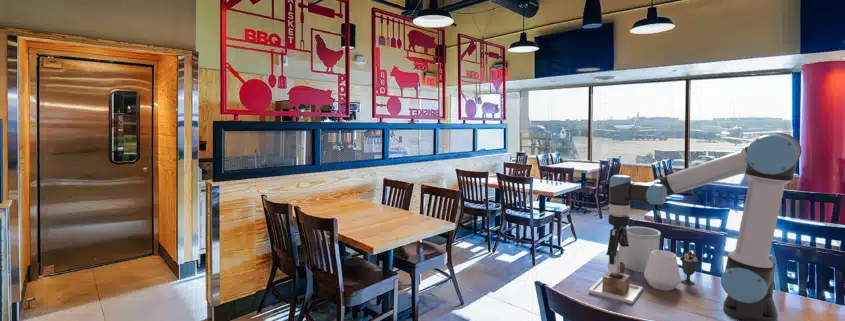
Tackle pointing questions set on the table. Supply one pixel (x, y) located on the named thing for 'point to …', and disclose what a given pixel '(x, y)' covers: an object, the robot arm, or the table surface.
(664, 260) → the cup
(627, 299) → the tray
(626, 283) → the wooden square holder
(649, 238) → the utensil holder
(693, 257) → the sundae
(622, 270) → the vase
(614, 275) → the pin
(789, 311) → the table surface
